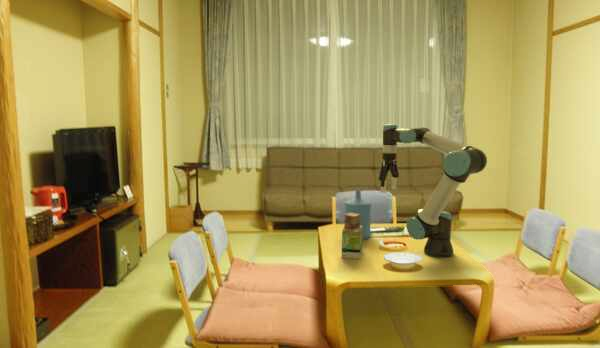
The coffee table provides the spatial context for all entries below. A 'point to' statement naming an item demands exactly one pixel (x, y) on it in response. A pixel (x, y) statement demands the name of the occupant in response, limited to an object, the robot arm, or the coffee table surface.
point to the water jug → (360, 212)
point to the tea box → (352, 242)
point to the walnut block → (352, 221)
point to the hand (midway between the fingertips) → (388, 190)
